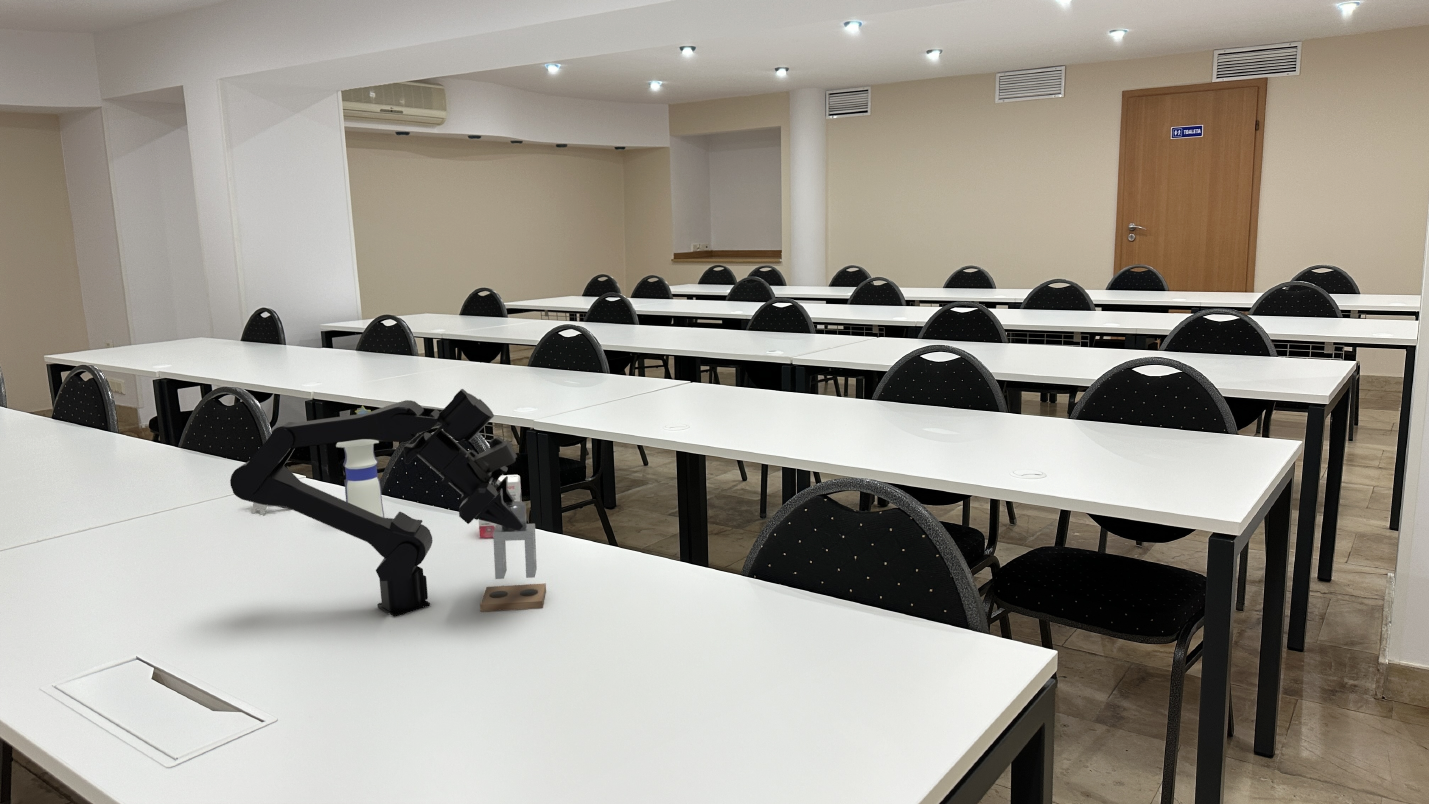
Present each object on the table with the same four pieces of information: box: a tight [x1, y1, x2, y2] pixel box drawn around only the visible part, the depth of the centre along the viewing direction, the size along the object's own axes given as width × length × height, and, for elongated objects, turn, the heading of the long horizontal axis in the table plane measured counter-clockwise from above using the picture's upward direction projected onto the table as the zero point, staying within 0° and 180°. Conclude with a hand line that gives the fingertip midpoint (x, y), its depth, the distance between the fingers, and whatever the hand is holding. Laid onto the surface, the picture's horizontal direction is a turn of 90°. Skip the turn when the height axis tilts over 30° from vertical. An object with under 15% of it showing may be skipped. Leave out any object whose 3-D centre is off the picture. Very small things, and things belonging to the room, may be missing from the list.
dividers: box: [492, 500, 538, 580], centre depth 159 cm, size 6×4×12 cm, turn 96°
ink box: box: [478, 474, 523, 539], centre depth 196 cm, size 8×5×12 cm, turn 98°
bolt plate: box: [479, 583, 547, 613], centre depth 161 cm, size 10×8×1 cm
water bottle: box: [335, 405, 385, 518], centre depth 205 cm, size 8×9×25 cm
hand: (522, 524), depth 159 cm, fingers closed on dividers, 4 cm apart
